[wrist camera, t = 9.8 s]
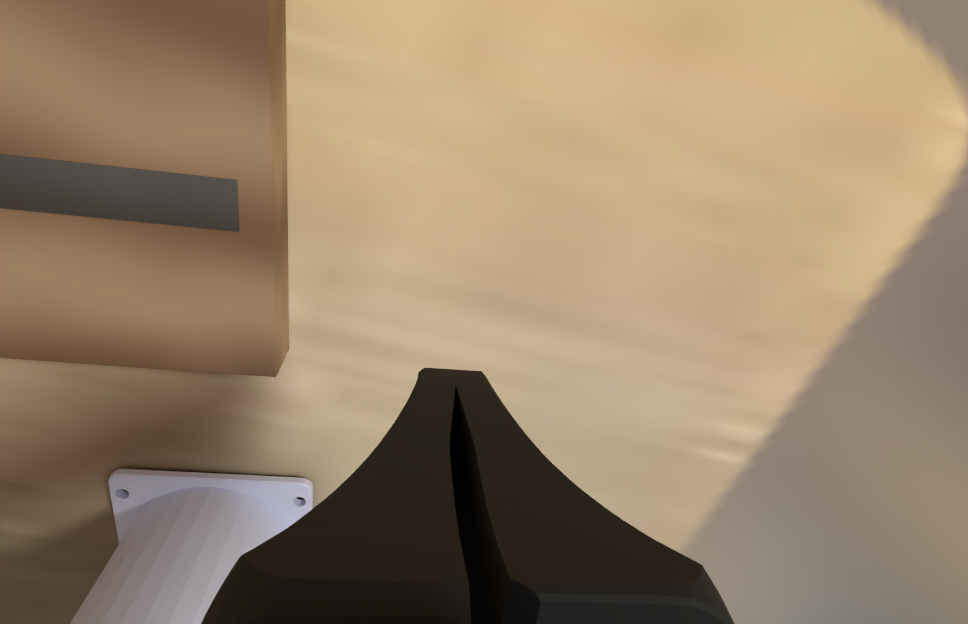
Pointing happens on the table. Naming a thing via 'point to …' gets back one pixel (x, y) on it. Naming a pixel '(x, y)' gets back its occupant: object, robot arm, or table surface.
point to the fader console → (144, 183)
